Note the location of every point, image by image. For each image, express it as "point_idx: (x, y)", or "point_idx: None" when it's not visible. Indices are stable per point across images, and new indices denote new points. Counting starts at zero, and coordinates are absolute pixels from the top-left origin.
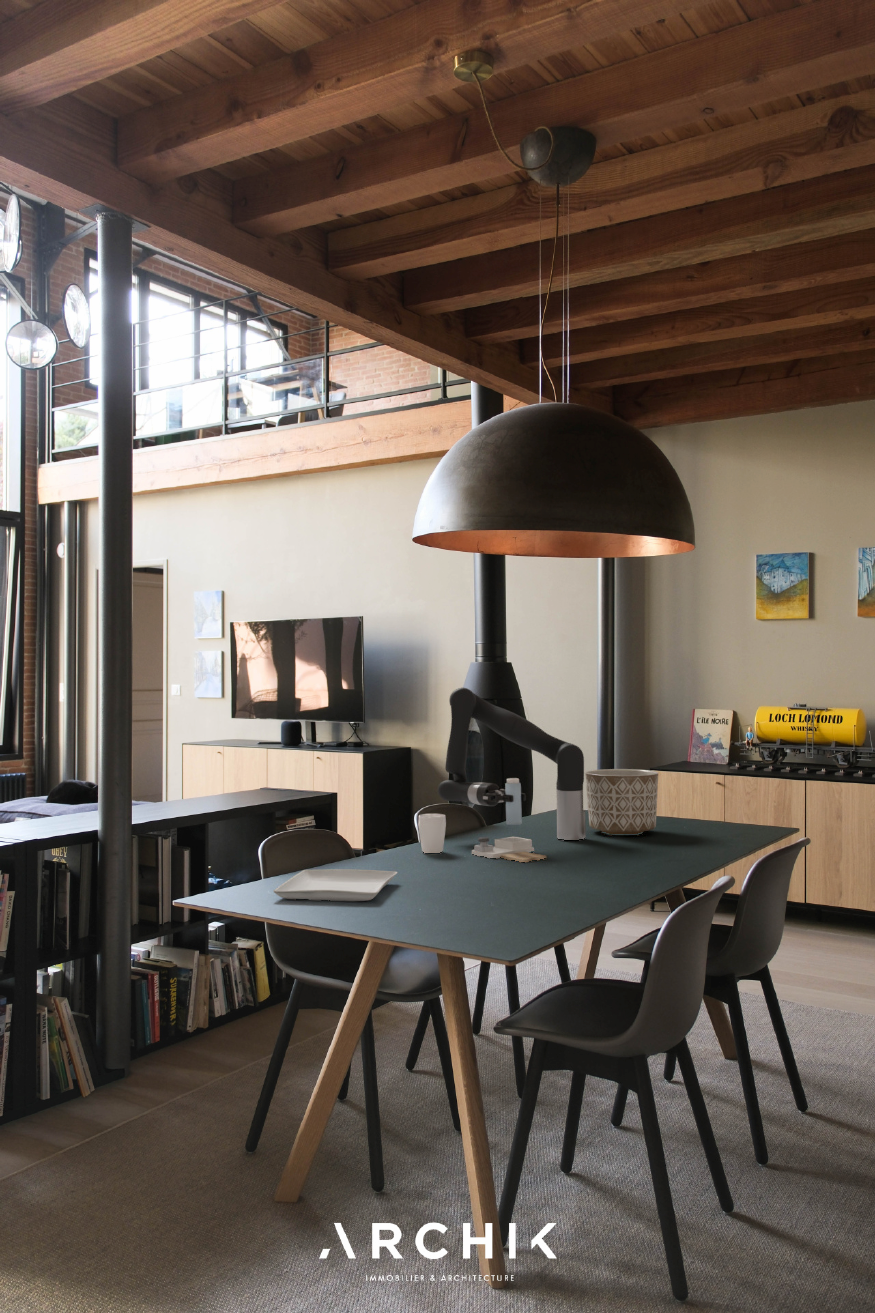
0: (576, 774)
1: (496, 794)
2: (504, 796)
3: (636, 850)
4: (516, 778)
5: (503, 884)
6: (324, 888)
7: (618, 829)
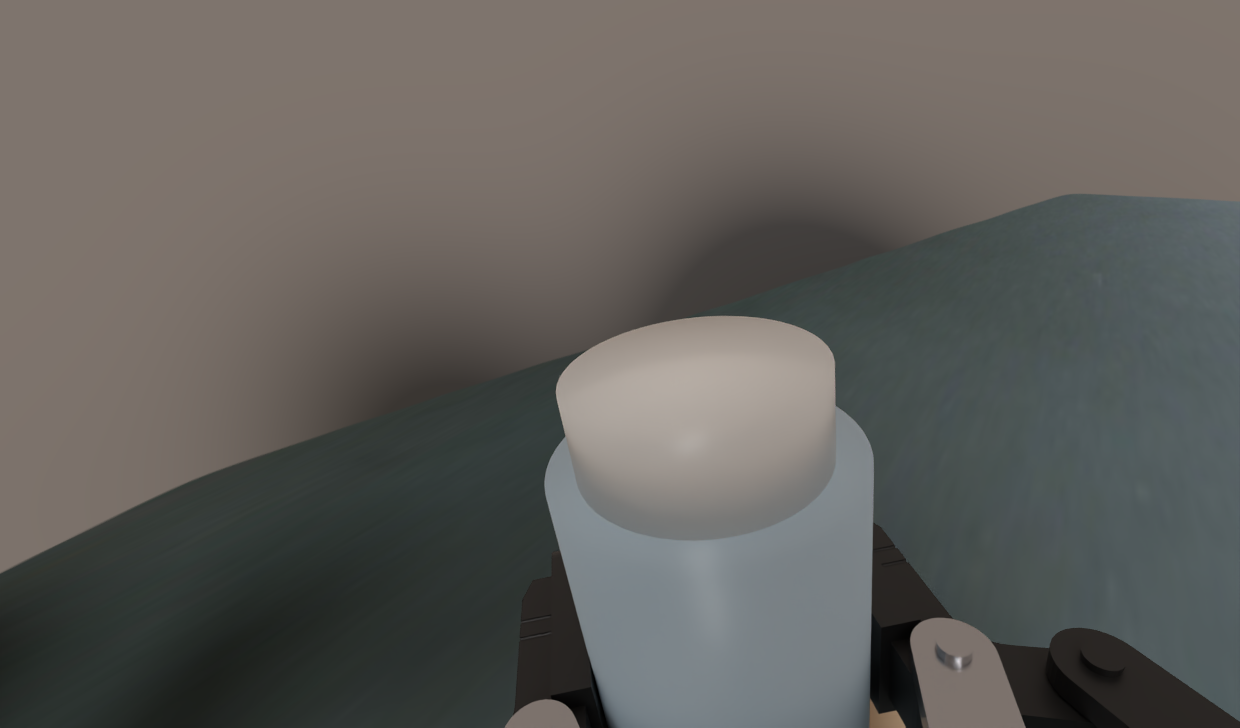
0: None
1: (1110, 651)
2: (925, 586)
3: (218, 627)
4: (592, 378)
5: (1050, 364)
6: None
7: None
